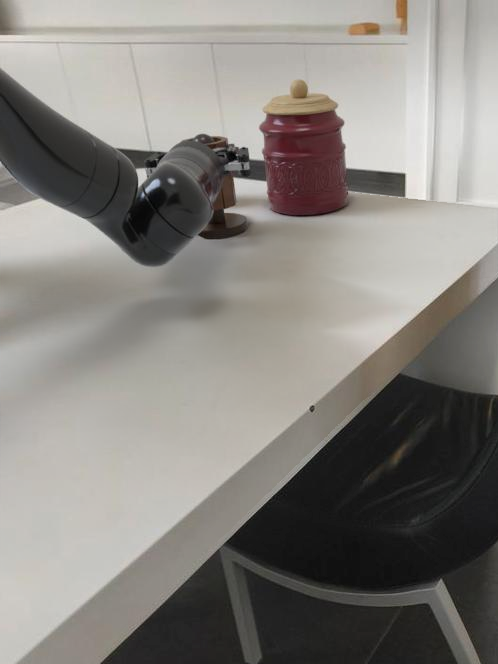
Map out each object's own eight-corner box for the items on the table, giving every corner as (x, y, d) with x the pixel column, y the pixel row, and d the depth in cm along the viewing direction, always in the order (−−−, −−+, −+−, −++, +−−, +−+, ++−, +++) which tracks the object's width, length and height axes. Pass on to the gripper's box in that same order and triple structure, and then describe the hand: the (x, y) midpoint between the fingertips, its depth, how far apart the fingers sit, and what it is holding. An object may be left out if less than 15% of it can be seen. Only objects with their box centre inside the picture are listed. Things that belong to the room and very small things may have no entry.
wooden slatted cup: (204, 213, 96) (192, 147, 91) (184, 204, 100) (172, 141, 95) (244, 204, 99) (235, 139, 94) (223, 196, 103) (213, 134, 98)
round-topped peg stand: (203, 243, 97) (186, 143, 89) (176, 229, 103) (157, 134, 95) (259, 229, 101) (246, 132, 93) (229, 217, 107) (215, 125, 99)
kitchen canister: (252, 208, 110) (235, 82, 100) (310, 190, 118) (300, 72, 107) (306, 221, 103) (294, 87, 92) (365, 202, 110) (360, 76, 100)
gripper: (242, 143, 82) (255, 120, 95) (122, 150, 82) (152, 126, 95) (251, 208, 86) (262, 178, 100) (137, 215, 86) (163, 183, 100)
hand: (208, 153), depth 97 cm, fingers closed on wooden slatted cup, 6 cm apart
